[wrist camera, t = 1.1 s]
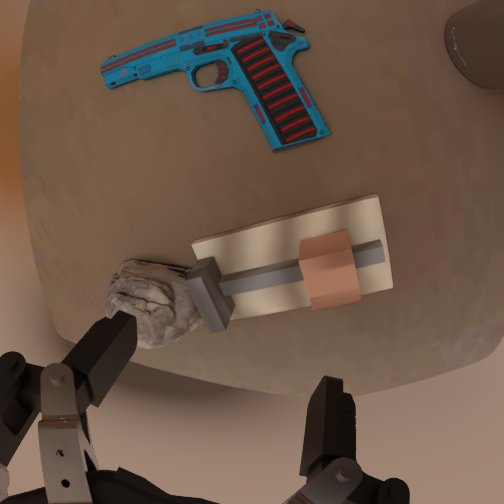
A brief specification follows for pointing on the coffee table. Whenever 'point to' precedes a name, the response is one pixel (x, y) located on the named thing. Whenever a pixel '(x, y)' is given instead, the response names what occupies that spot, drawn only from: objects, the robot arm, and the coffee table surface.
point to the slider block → (329, 270)
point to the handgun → (236, 71)
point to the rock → (154, 301)
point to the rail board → (282, 261)
